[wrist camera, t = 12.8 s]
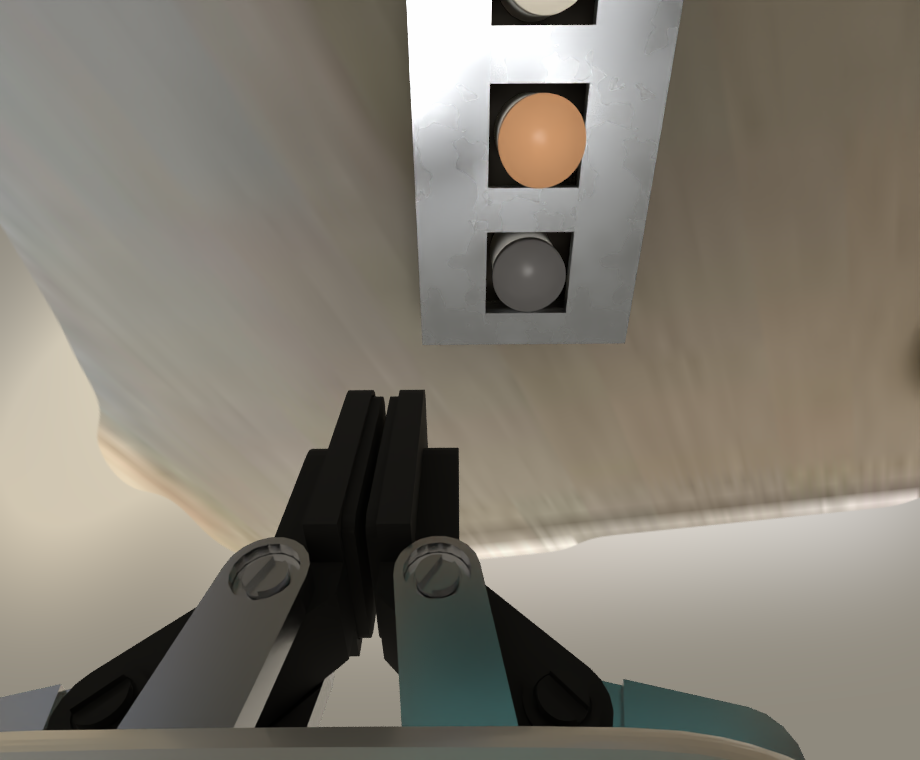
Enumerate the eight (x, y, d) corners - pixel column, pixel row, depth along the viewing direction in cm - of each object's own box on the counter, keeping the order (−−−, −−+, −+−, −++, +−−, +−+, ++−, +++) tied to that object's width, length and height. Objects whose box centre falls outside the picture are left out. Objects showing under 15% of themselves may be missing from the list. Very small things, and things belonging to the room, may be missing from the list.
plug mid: (569, 89, 32) (591, 92, 27) (562, 170, 34) (581, 188, 29) (493, 90, 32) (500, 93, 27) (491, 171, 34) (497, 188, 29)
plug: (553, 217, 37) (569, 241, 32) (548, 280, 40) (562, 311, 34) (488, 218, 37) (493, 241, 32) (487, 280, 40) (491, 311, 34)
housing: (667, -139, 28) (715, -187, 23) (603, 309, 41) (624, 343, 36) (408, -138, 28) (397, -184, 23) (426, 310, 41) (422, 344, 36)
